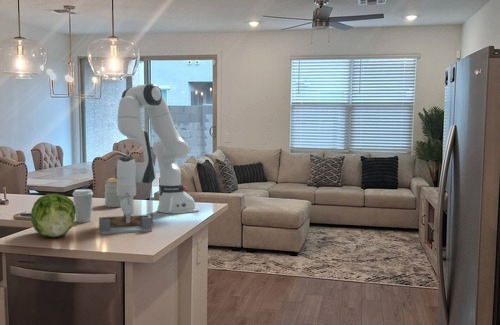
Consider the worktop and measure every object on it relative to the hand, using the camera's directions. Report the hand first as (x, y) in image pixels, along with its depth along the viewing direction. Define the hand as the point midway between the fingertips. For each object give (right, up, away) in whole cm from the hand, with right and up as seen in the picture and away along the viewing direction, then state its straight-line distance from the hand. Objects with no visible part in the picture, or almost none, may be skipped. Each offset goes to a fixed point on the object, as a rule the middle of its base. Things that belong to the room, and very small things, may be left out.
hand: (126, 220), depth 236 cm
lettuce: (-24, -4, -23) cm, 34 cm away
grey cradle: (+3, -3, -14) cm, 14 cm away
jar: (-18, +3, +51) cm, 54 cm away
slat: (0, -2, 0) cm, 2 cm away
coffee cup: (-22, -1, +6) cm, 23 cm away
